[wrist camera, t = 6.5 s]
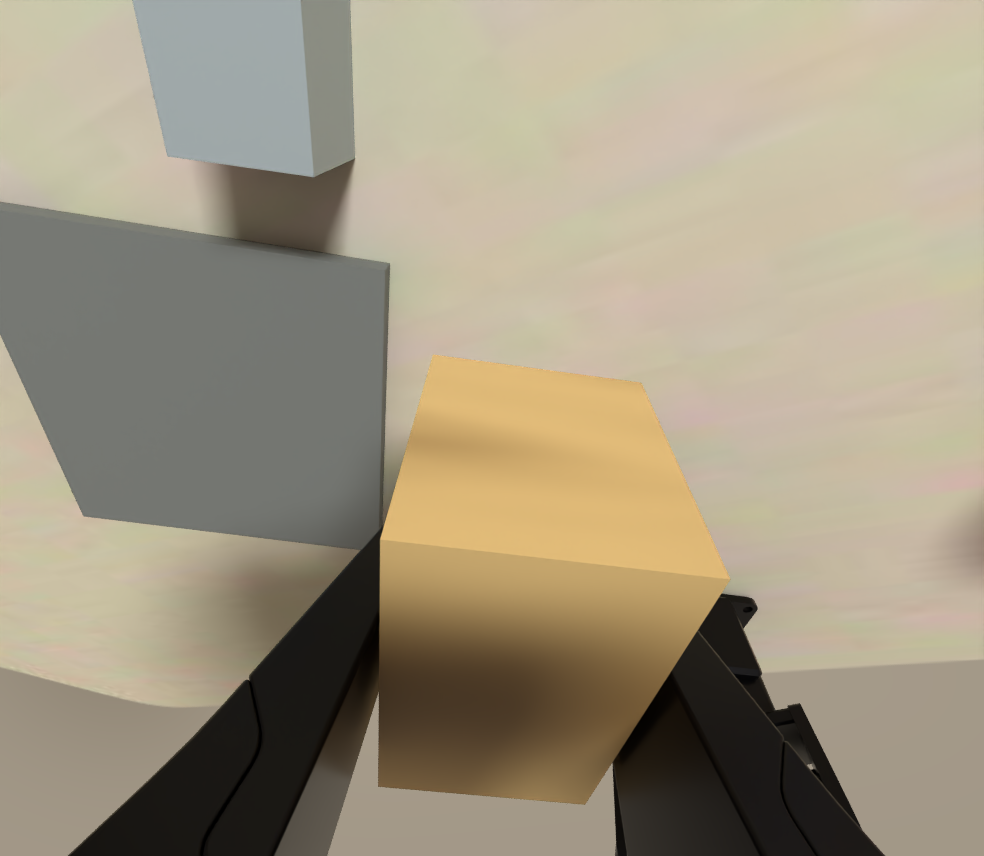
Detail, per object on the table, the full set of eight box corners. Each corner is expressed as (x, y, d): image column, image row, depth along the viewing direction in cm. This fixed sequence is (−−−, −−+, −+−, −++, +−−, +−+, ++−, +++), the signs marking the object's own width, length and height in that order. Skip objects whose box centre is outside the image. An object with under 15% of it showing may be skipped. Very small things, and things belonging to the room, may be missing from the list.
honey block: (563, 602, 12) (584, 804, 8) (416, 585, 11) (378, 786, 8) (641, 382, 8) (730, 579, 5) (432, 354, 8) (379, 539, 5)
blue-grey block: (356, 158, 15) (313, 176, 12) (241, 141, 15) (167, 156, 12) (347, -122, 12) (285, -202, 9) (200, -148, 12) (78, -239, 8)
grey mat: (381, 539, 25) (378, 552, 24) (95, 504, 24) (83, 516, 23) (389, 263, 17) (385, 270, 16) (-38, 195, 16) (-61, 200, 15)
